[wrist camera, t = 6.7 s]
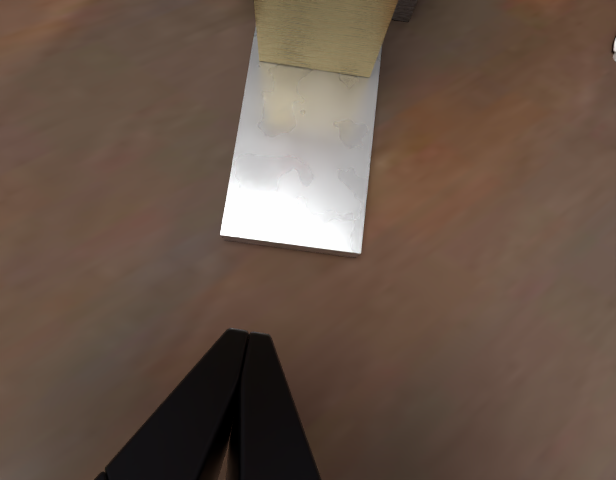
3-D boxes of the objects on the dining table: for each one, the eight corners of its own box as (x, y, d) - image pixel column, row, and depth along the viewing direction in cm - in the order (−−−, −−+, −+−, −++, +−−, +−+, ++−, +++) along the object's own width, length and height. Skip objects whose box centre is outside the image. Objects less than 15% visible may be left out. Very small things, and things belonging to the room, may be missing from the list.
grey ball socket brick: (386, 262, 22) (470, 218, 12) (192, 235, 22) (119, 169, 12) (416, -75, 26) (496, -306, 16) (253, -102, 26) (237, -355, 16)
